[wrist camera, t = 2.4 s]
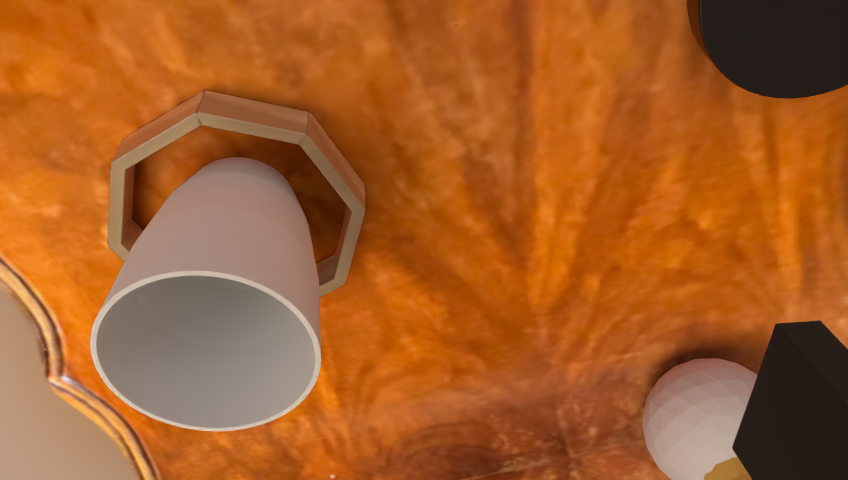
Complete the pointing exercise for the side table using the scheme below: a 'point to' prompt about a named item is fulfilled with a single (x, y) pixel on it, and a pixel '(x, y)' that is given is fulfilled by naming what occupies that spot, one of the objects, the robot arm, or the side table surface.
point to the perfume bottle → (698, 419)
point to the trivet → (775, 43)
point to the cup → (216, 304)
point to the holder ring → (249, 121)
